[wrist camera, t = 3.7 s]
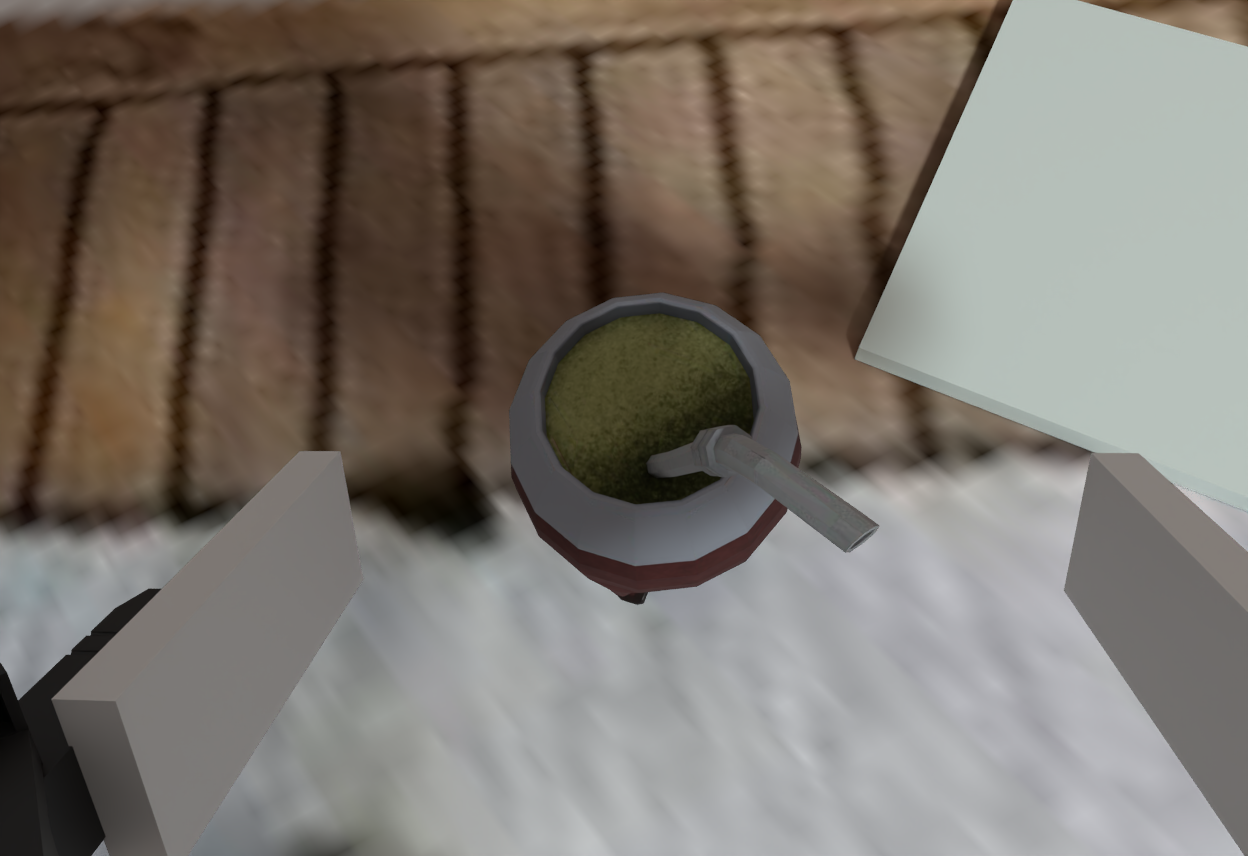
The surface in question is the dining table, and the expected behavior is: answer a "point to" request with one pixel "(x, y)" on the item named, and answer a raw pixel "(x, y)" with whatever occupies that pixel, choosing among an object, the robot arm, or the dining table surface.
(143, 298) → the dining table surface
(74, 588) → the dining table surface
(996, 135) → the sage tile
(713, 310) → the mate gourd
